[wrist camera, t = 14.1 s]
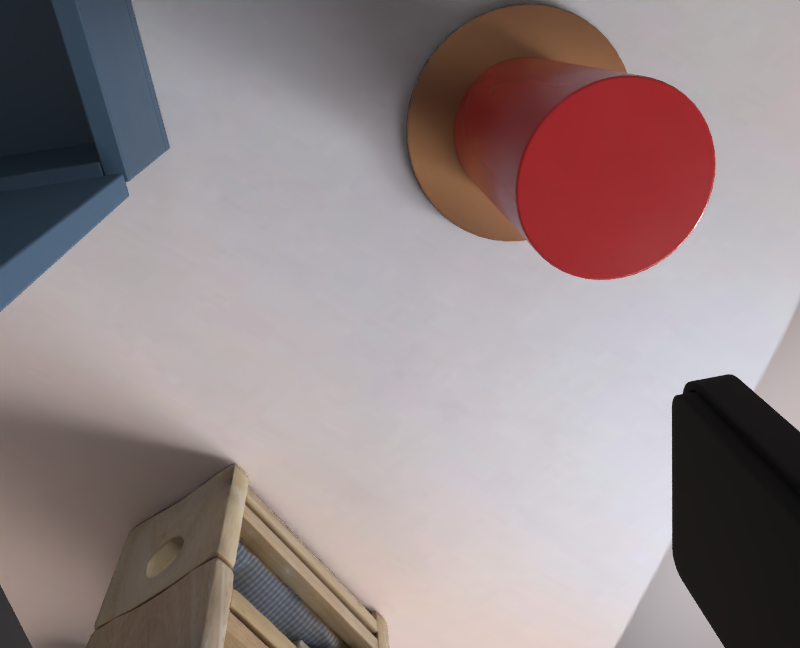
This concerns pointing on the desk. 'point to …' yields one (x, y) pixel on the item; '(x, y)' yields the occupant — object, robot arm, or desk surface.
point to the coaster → (455, 72)
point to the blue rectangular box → (74, 93)
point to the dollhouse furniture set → (227, 582)
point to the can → (587, 162)
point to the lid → (49, 226)
